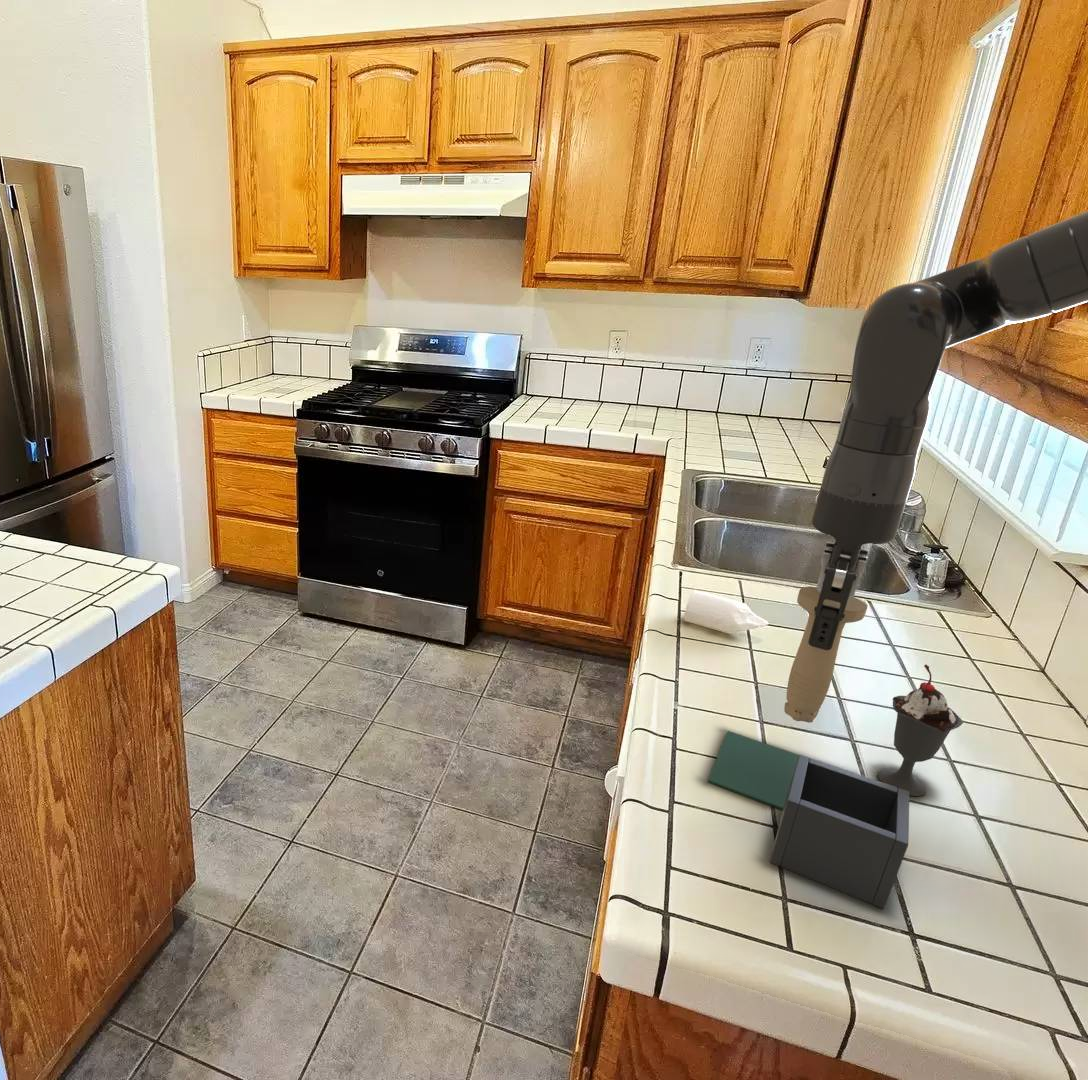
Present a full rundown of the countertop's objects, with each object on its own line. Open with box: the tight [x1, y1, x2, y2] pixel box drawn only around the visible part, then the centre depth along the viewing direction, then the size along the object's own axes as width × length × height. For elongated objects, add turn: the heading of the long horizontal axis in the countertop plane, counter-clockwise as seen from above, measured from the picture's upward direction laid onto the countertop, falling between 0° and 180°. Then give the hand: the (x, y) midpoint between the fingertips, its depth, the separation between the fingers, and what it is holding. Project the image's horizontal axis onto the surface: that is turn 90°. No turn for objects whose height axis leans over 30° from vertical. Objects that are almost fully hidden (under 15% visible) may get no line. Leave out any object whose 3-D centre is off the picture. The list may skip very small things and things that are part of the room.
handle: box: [783, 585, 868, 724], centre depth 84 cm, size 5×6×15 cm
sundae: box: [877, 663, 964, 797], centre depth 87 cm, size 7×7×15 cm
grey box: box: [769, 753, 910, 910], centre depth 77 cm, size 10×9×8 cm
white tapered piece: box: [683, 590, 769, 635], centre depth 123 cm, size 6×12×6 cm, turn 51°
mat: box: [707, 730, 799, 811], centre depth 90 cm, size 14×12×1 cm
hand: (822, 636), depth 83 cm, fingers closed on handle, 5 cm apart
